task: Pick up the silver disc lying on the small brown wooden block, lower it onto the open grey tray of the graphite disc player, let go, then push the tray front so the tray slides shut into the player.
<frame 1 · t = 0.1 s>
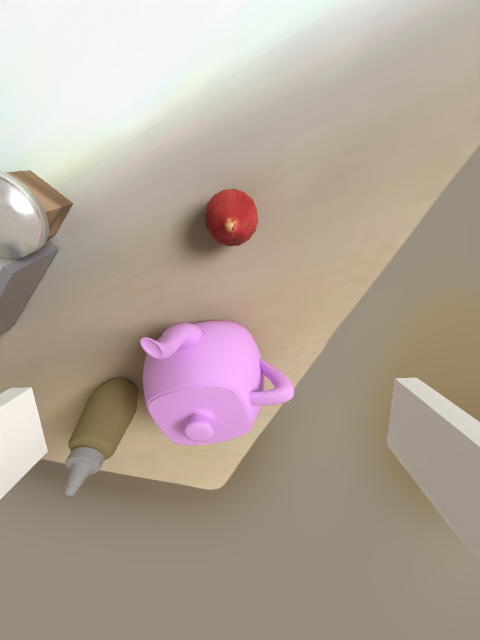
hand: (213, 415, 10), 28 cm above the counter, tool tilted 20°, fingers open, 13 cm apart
brown wooden block: (43, 204, 31), on the counter
disc: (6, 214, 26), point 6 cm above the counter, touching brown wooden block
squeeze bottle: (121, 387, 49), on the counter
onion: (232, 211, 32), on the counter
teapot: (208, 350, 44), on the counter
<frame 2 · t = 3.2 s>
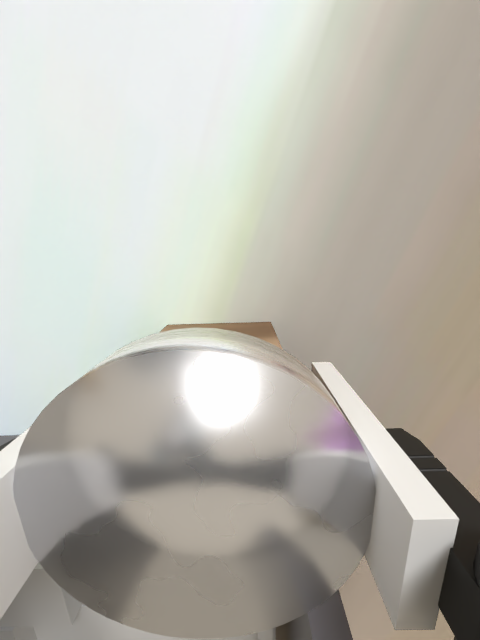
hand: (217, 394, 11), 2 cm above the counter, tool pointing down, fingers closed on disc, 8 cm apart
brown wooden block: (221, 371, 13), on the counter
disc: (205, 463, 7), point 6 cm above the counter, touching gripper, brown wooden block
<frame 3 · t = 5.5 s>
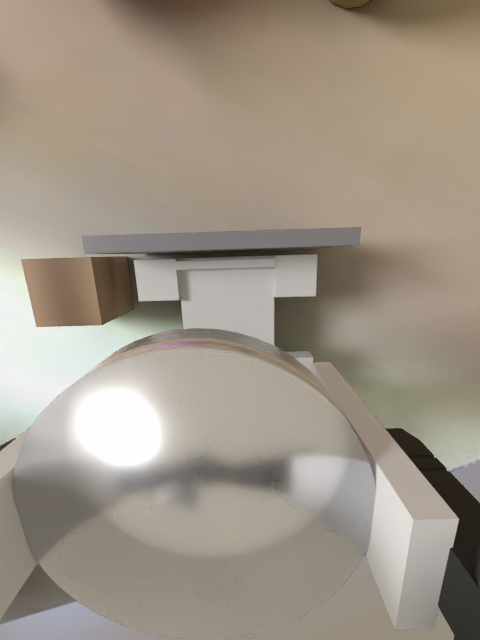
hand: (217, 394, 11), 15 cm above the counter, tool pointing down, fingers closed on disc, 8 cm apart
brown wooden block: (104, 284, 25), on the counter
disc: (205, 464, 7), point 19 cm above the counter, touching gripper
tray: (228, 326, 21), point 5 cm above the counter, slide at 11.5 cm
when the fingers open (2 cm above the counter, at t = 7.9 s): disc stays where it is, resting on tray.
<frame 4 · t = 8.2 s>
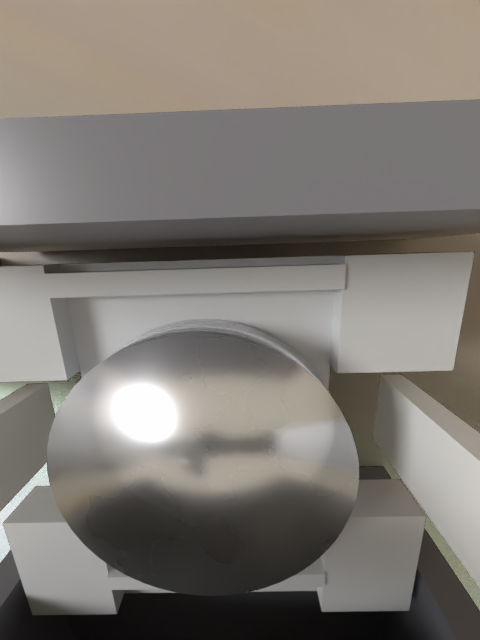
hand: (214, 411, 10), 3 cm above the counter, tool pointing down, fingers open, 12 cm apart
disc: (210, 441, 8), point 5 cm above the counter, touching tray
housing: (231, 564, 16), on the counter
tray: (209, 435, 8), point 5 cm above the counter, slide at 11.5 cm, touching disc
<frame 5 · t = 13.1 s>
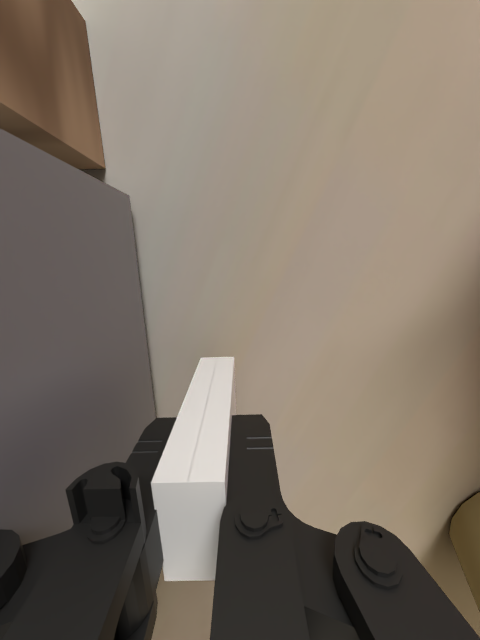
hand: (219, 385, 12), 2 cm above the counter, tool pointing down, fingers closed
brown wooden block: (34, 101, 10), on the counter
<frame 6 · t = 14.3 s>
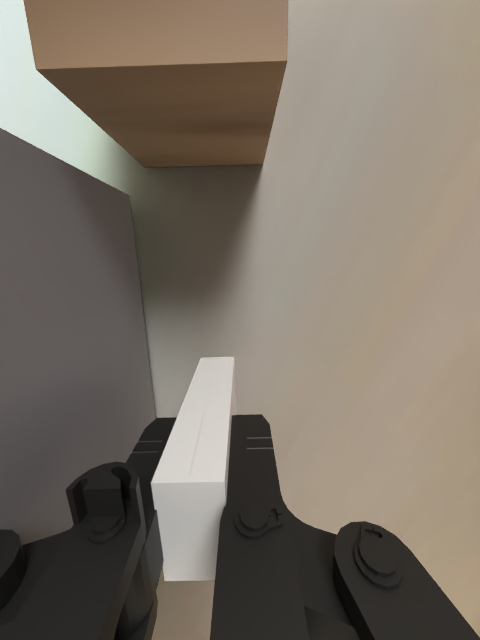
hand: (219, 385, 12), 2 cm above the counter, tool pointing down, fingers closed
brown wooden block: (200, 95, 10), on the counter
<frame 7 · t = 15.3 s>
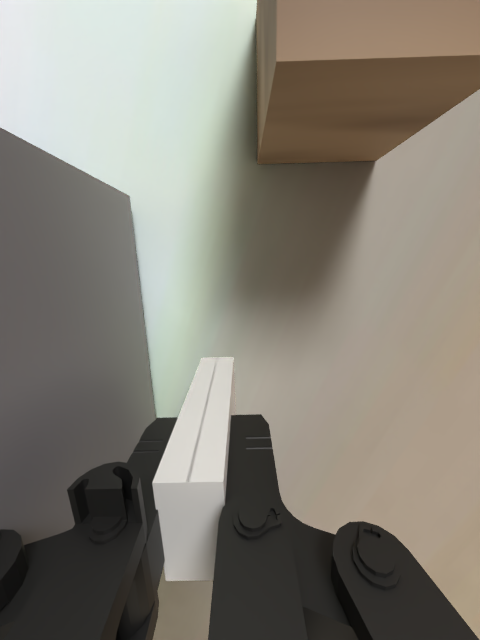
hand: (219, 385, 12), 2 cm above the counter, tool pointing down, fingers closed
brown wooden block: (319, 92, 10), on the counter
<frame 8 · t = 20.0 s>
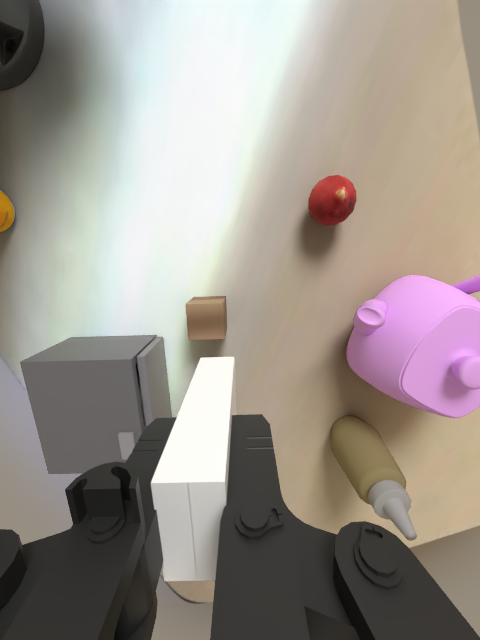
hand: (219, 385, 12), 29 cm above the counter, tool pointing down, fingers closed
brown wooden block: (210, 312, 41), on the counter
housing: (121, 383, 44), on the counter
squeeze bottle: (346, 428, 46), on the counter
onion: (322, 206, 37), on the counter
teapot: (391, 331, 42), on the counter
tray: (115, 398, 40), point 5 cm above the counter, slide at 0.0 cm, touching disc
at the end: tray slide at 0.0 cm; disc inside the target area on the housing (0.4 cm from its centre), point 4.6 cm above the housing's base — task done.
